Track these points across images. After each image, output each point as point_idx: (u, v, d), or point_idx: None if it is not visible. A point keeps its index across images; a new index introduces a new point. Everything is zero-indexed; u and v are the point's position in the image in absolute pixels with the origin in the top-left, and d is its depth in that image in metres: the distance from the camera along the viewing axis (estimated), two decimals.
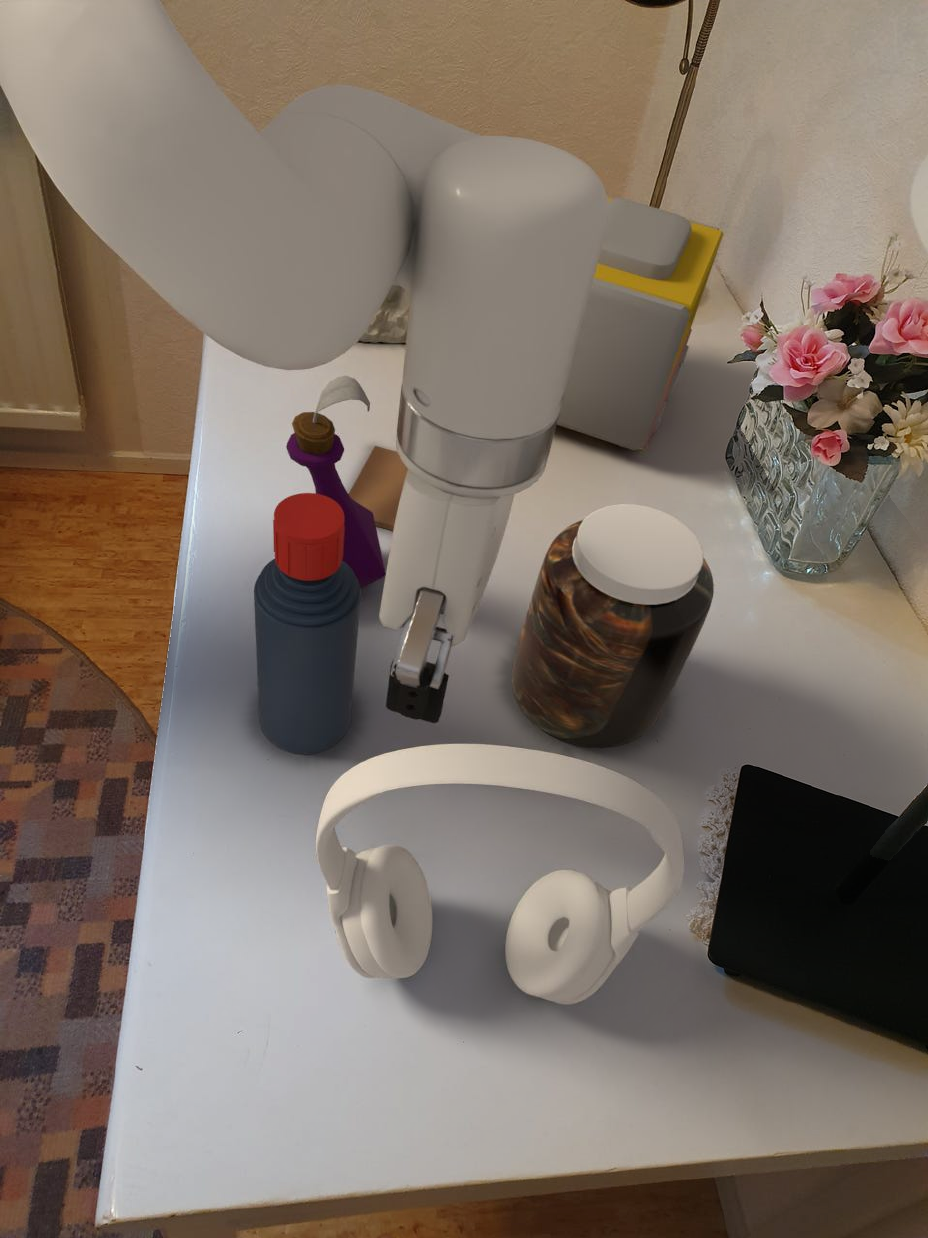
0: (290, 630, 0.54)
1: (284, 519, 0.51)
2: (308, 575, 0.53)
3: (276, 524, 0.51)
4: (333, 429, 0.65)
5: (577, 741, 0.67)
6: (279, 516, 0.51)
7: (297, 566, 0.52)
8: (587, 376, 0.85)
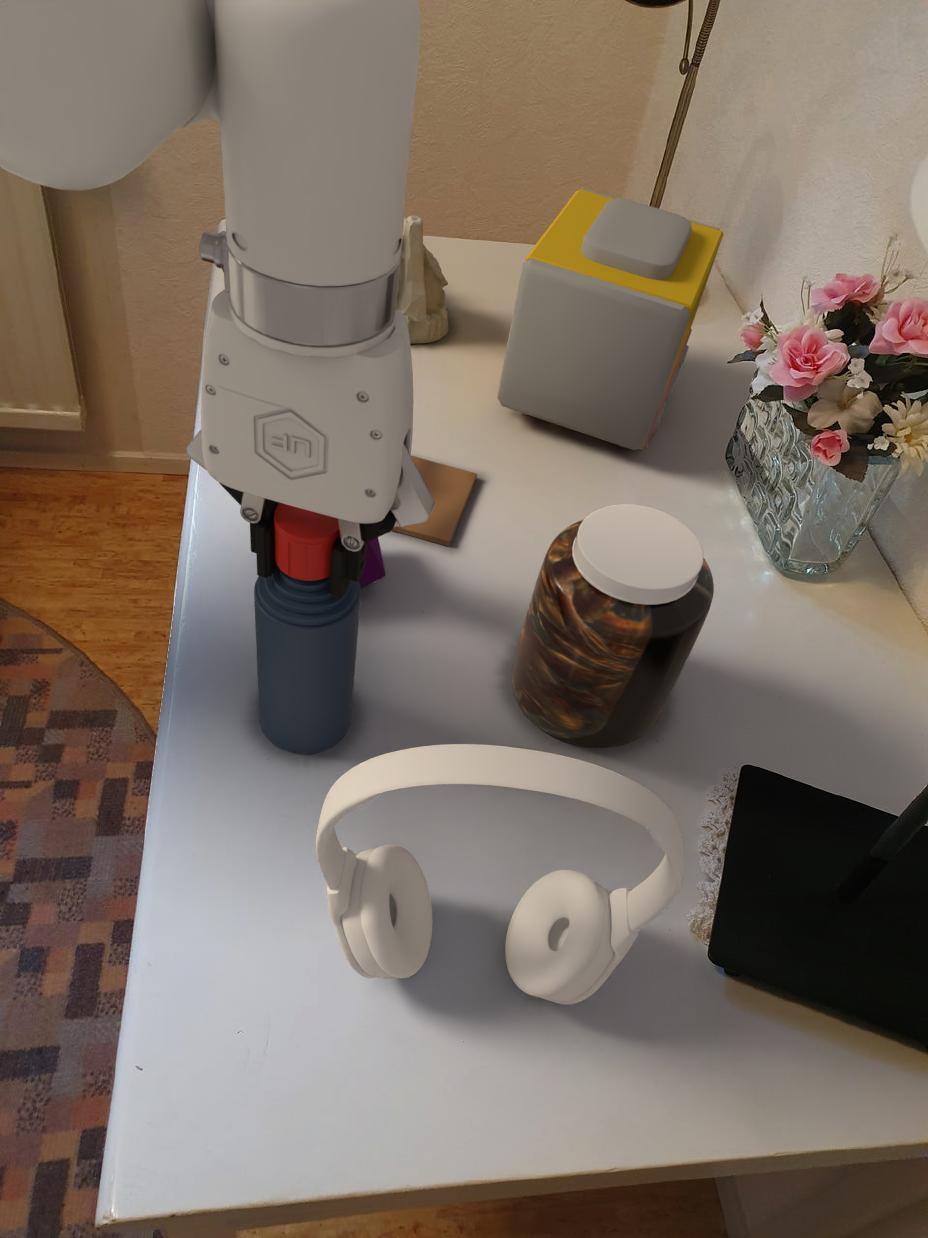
0: (290, 630, 0.54)
1: (284, 519, 0.51)
2: (308, 575, 0.53)
3: (276, 524, 0.51)
4: None
5: (577, 741, 0.67)
6: (279, 516, 0.51)
7: (297, 566, 0.52)
8: (588, 376, 0.85)
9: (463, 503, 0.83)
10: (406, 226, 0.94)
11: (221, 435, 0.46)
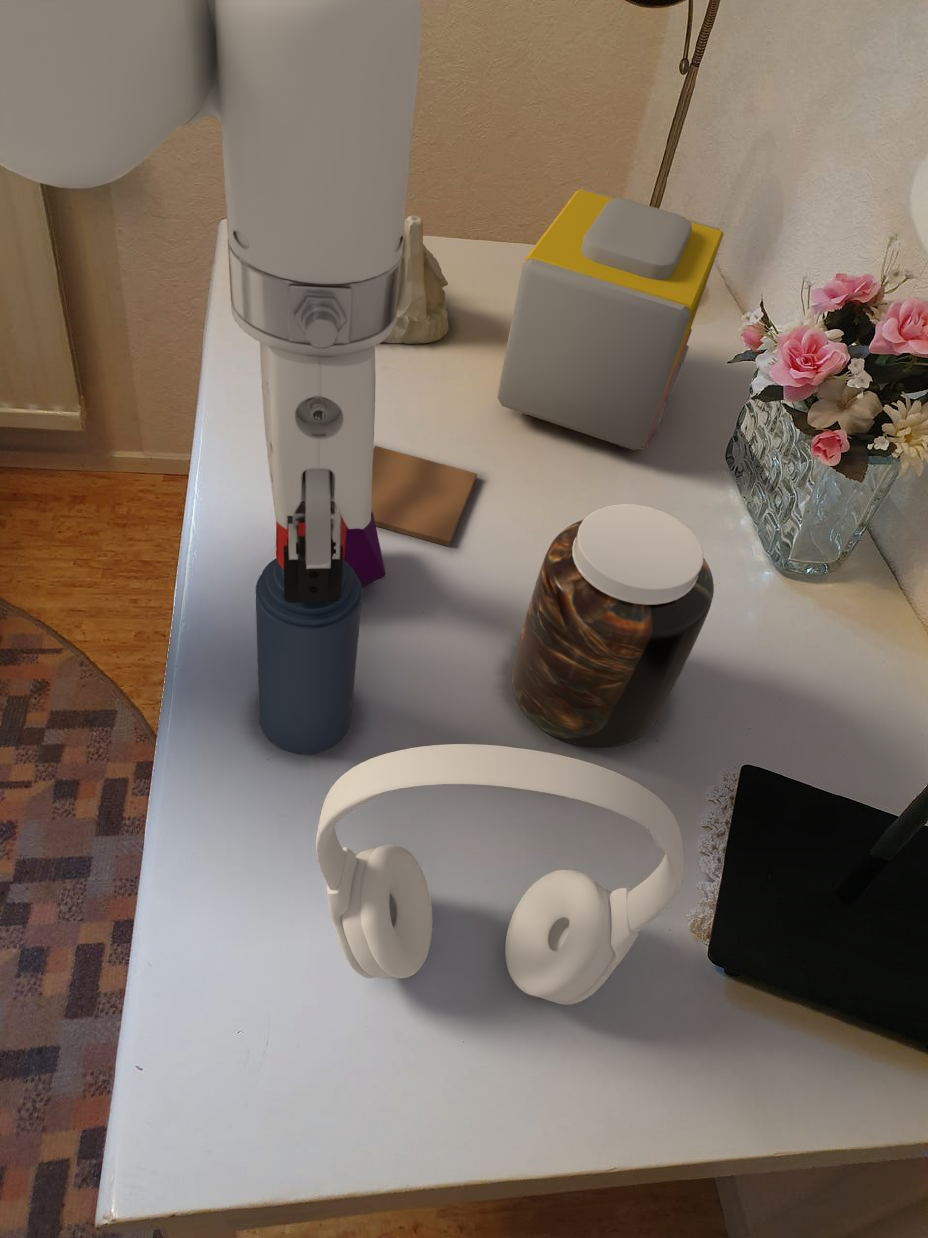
0: (292, 629, 0.54)
1: None
2: None
3: None
4: None
5: (577, 741, 0.67)
6: None
7: None
8: (588, 376, 0.85)
9: (463, 503, 0.83)
10: (406, 226, 0.94)
11: None
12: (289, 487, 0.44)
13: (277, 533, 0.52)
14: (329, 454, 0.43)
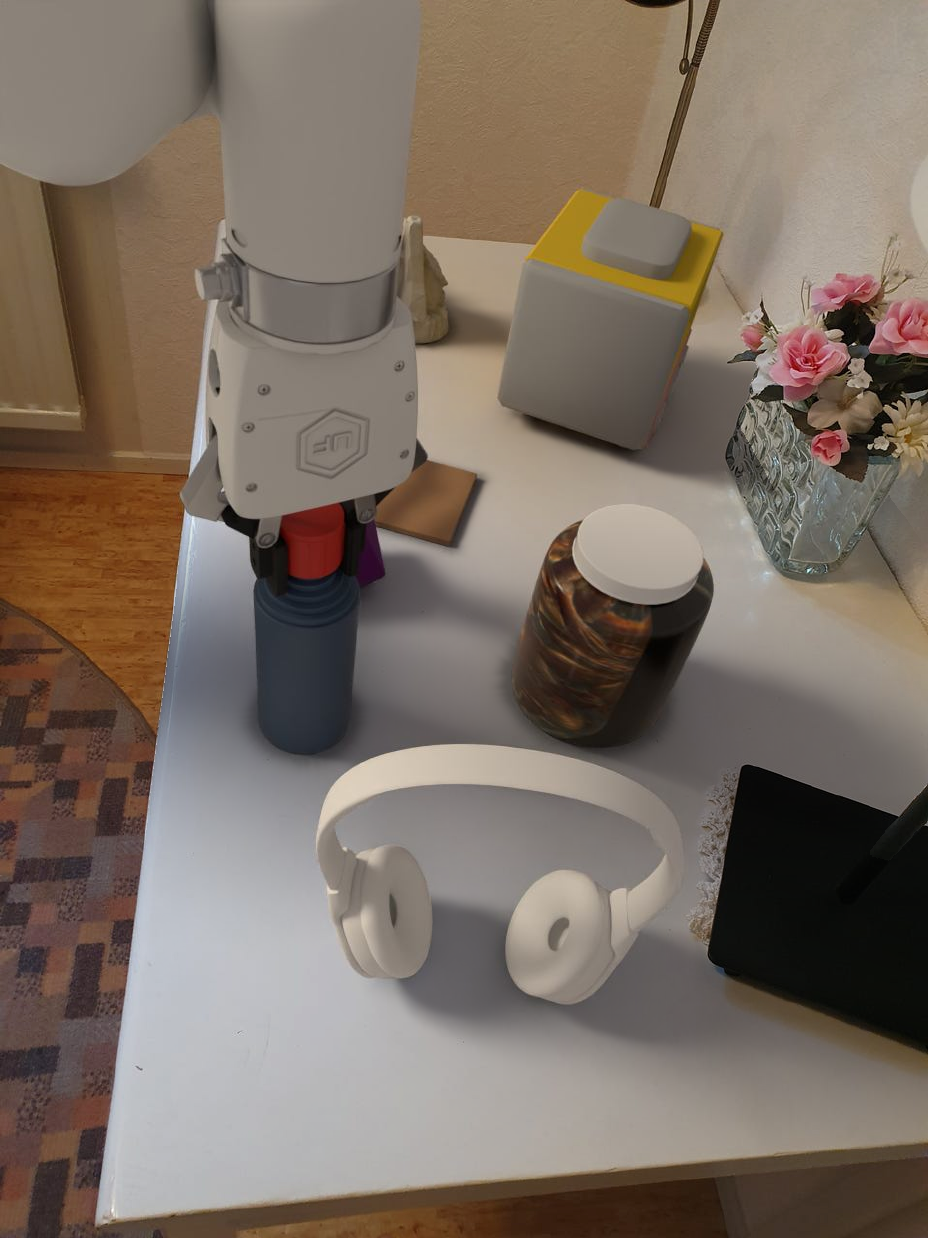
0: (290, 630, 0.54)
1: (334, 516, 0.52)
2: None
3: None
4: None
5: (577, 741, 0.67)
6: (337, 520, 0.52)
7: None
8: (588, 376, 0.85)
9: (463, 503, 0.83)
10: (406, 226, 0.94)
11: (260, 468, 0.44)
12: (206, 426, 0.46)
13: (291, 547, 0.51)
14: (215, 413, 0.43)
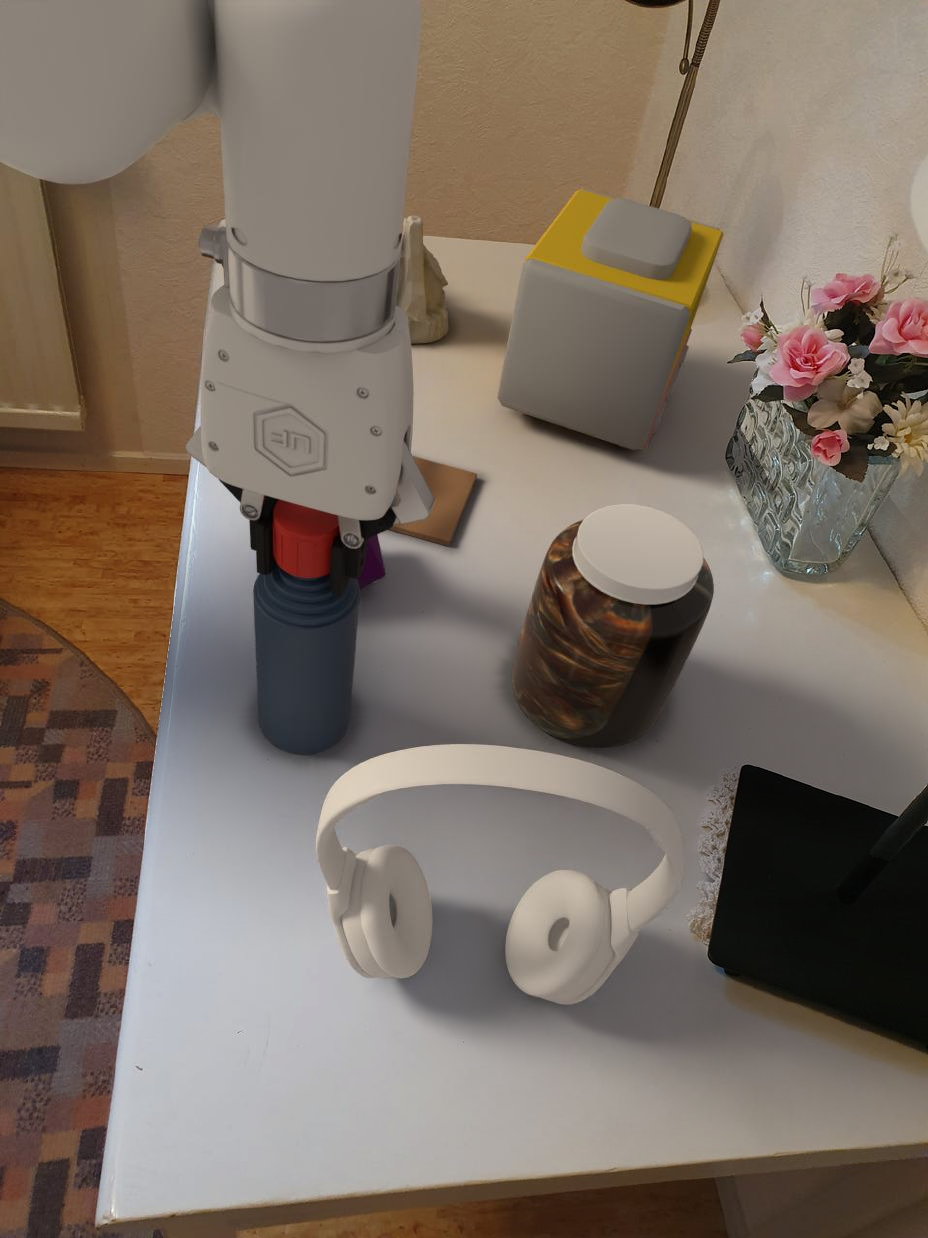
0: (290, 630, 0.54)
1: None
2: None
3: None
4: None
5: (577, 741, 0.67)
6: None
7: None
8: (588, 376, 0.85)
9: (463, 503, 0.83)
10: (406, 226, 0.94)
11: (221, 431, 0.46)
12: None
13: None
14: None
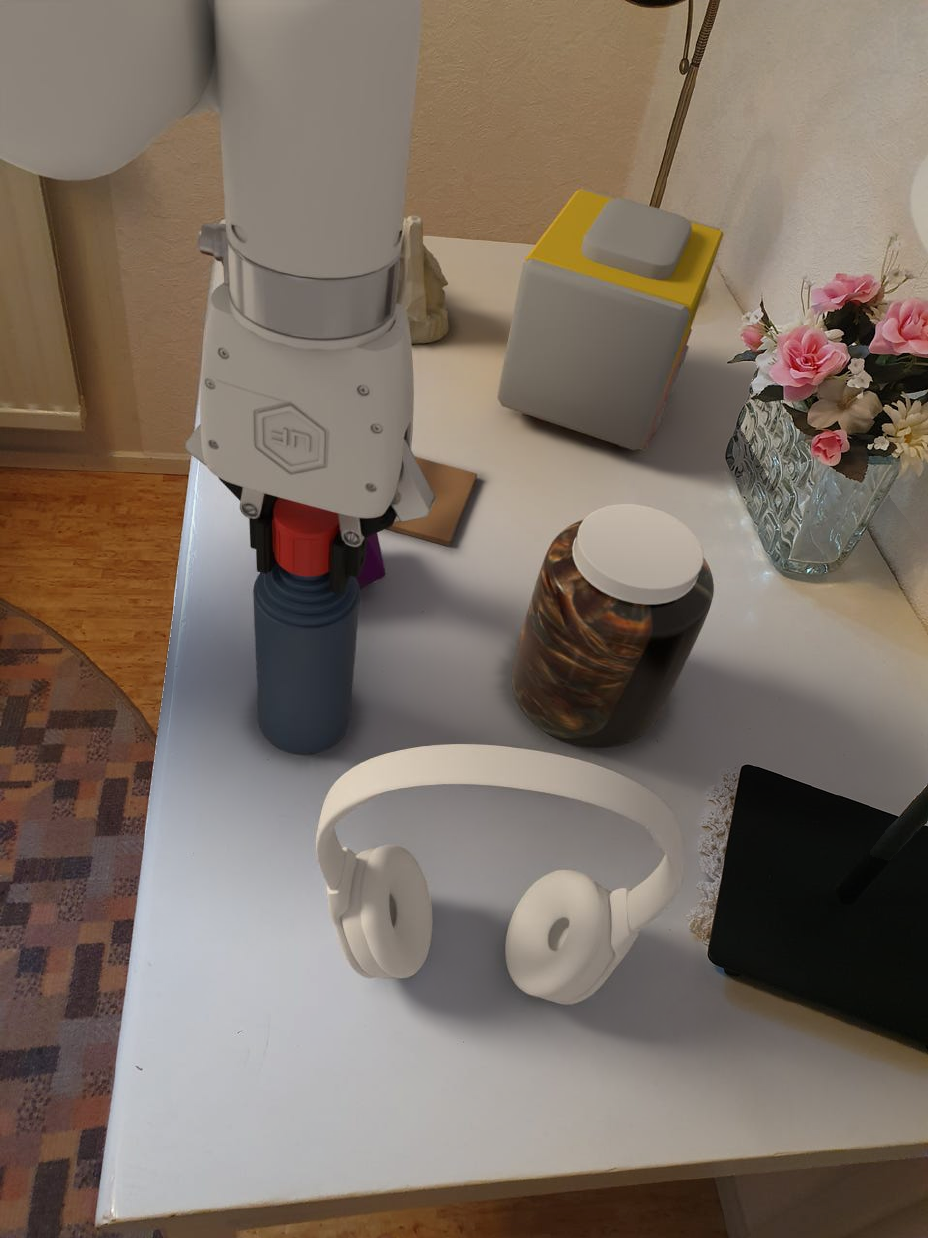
0: (290, 630, 0.54)
1: (283, 508, 0.51)
2: (295, 569, 0.52)
3: (273, 511, 0.51)
4: None
5: (577, 741, 0.67)
6: (279, 504, 0.51)
7: (286, 557, 0.52)
8: (588, 376, 0.85)
9: (463, 503, 0.83)
10: (406, 226, 0.94)
11: (221, 429, 0.45)
12: None
13: None
14: None
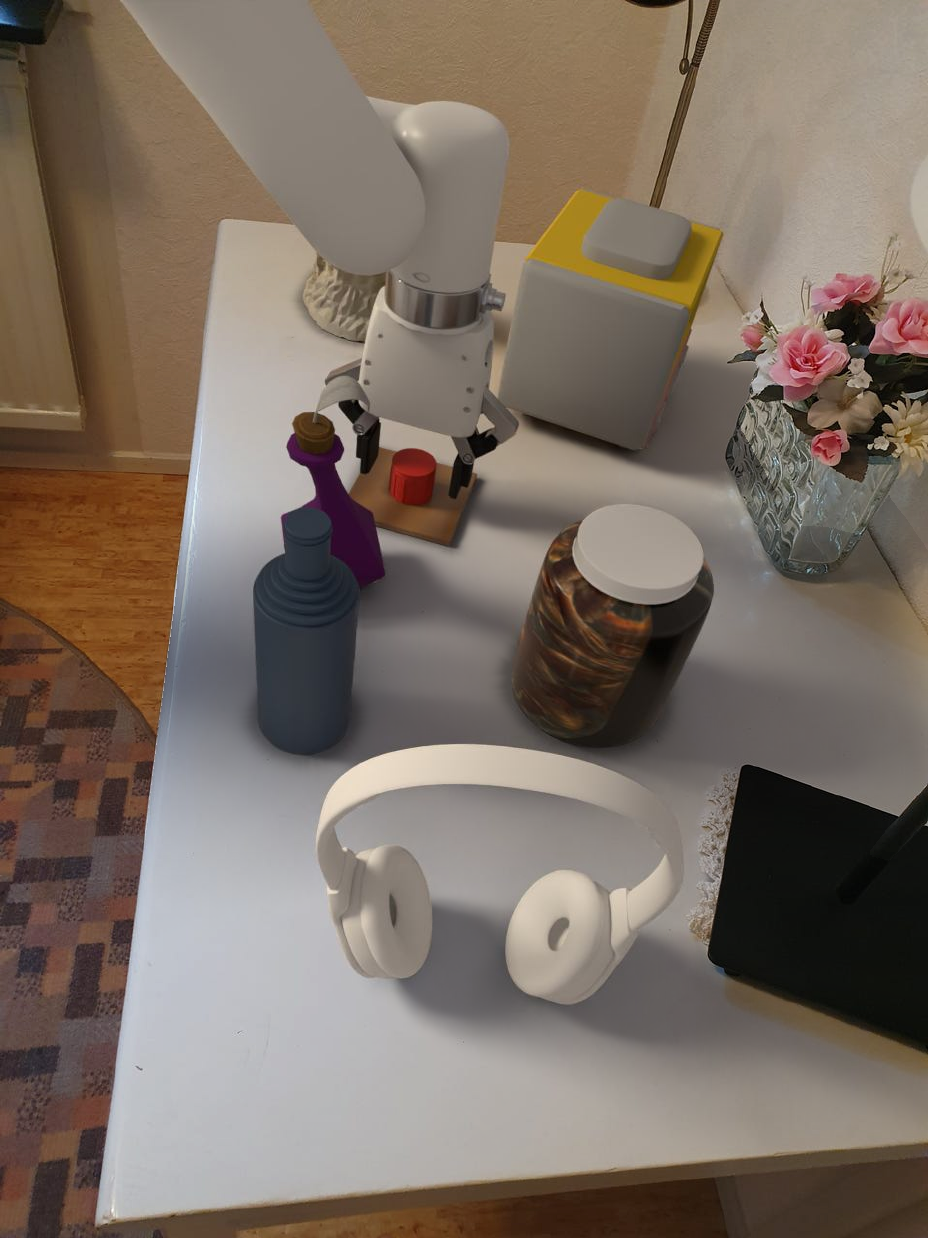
0: (289, 630, 0.54)
1: (430, 463, 0.81)
2: None
3: (436, 463, 0.81)
4: (333, 429, 0.65)
5: (577, 741, 0.67)
6: (432, 465, 0.80)
7: None
8: (588, 376, 0.85)
9: (463, 503, 0.83)
10: None
11: None
12: (479, 405, 0.73)
13: (404, 483, 0.80)
14: (489, 372, 0.73)
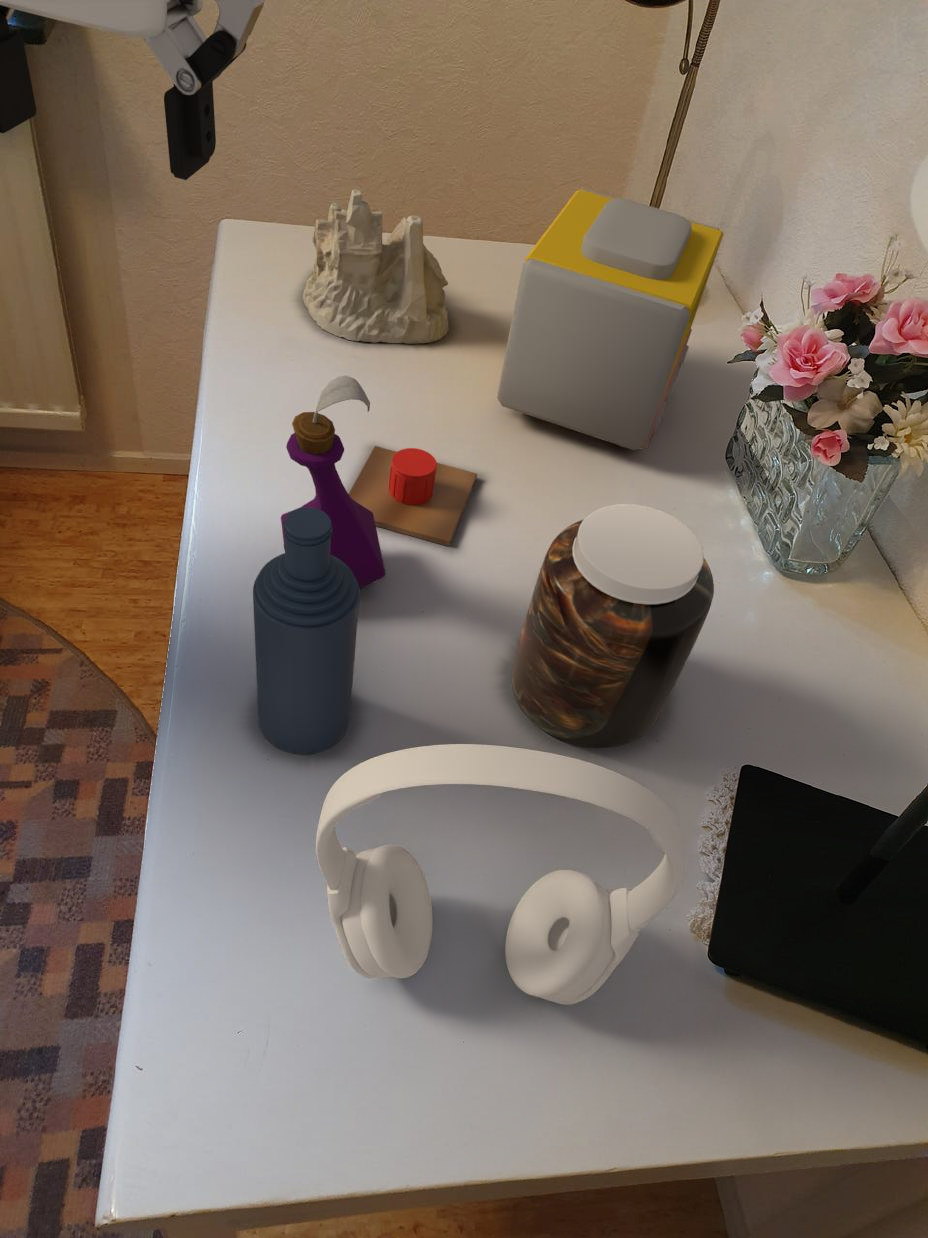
0: (289, 630, 0.54)
1: (430, 463, 0.81)
2: None
3: (436, 463, 0.81)
4: (333, 429, 0.65)
5: (577, 741, 0.67)
6: (432, 465, 0.80)
7: None
8: (588, 376, 0.85)
9: (463, 503, 0.83)
10: (406, 226, 0.94)
11: None
12: None
13: (404, 483, 0.80)
14: None
